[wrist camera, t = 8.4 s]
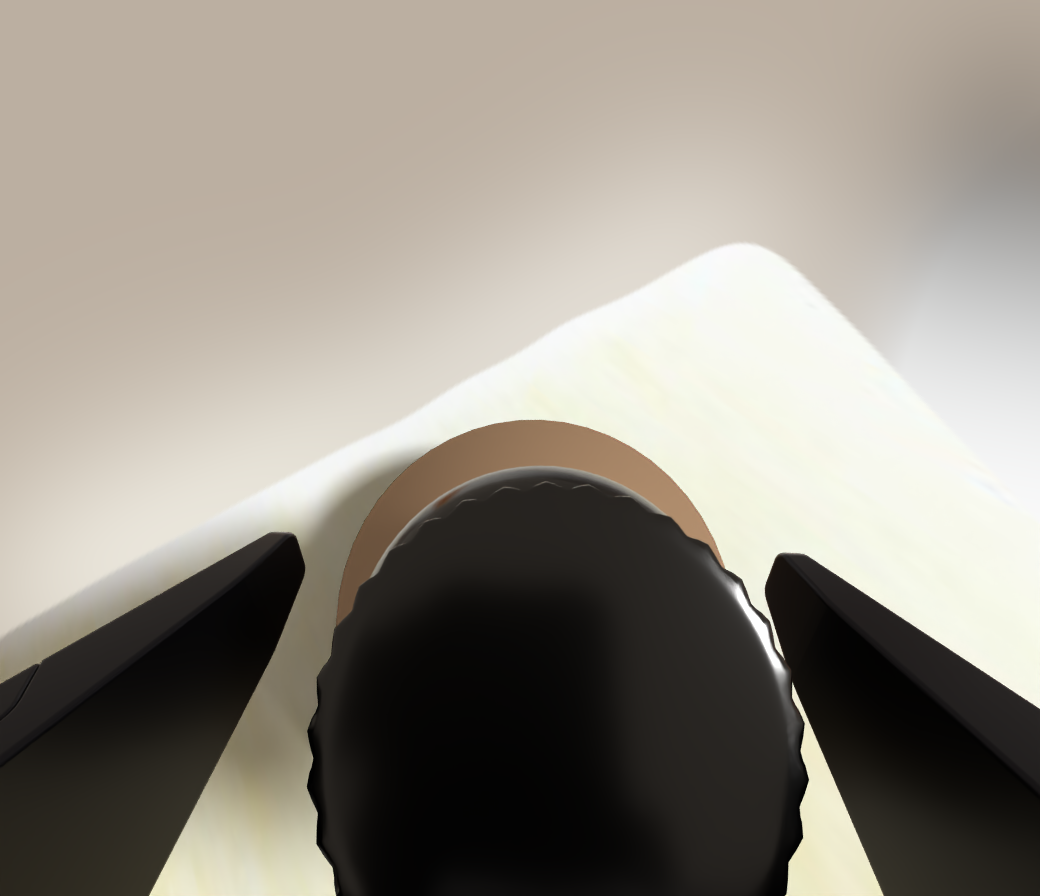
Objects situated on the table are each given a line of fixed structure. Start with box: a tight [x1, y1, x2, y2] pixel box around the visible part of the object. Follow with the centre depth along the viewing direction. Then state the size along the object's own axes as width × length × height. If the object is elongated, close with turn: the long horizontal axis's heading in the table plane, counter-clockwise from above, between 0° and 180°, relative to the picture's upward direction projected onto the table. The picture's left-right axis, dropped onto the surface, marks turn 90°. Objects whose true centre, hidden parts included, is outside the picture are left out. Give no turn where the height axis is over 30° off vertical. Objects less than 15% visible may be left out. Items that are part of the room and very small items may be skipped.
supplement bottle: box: [307, 466, 809, 896], centre depth 10 cm, size 7×7×12 cm
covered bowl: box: [336, 420, 725, 627], centre depth 18 cm, size 14×14×4 cm
